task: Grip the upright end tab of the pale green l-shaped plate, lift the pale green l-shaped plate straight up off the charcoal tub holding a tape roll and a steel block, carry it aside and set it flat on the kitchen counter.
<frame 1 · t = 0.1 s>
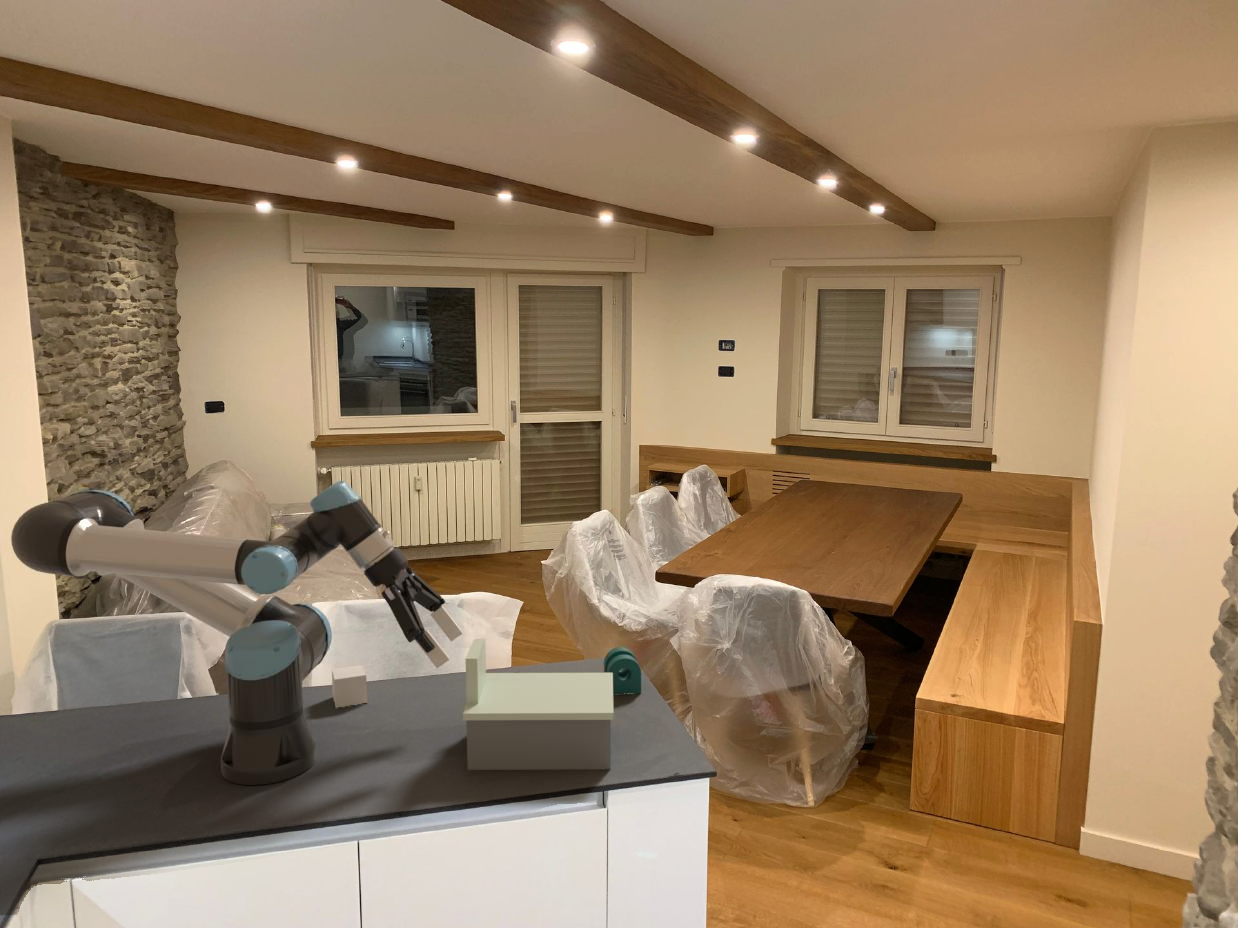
hand: (450, 649, 164), 15 cm above the kitchen counter, tool tilted 35°, fingers open, 13 cm apart
white cube: (350, 701, 180), on the kitchen counter
pale green l-shaped plate: (542, 698, 158), point 9 cm above the kitchen counter, touching tub
tub: (542, 746, 159), on the kitchen counter
steel block: (582, 746, 159), resting in tub
bracket: (595, 691, 185), on the kitchen counter
tape roll: (520, 749, 159), resting in tub
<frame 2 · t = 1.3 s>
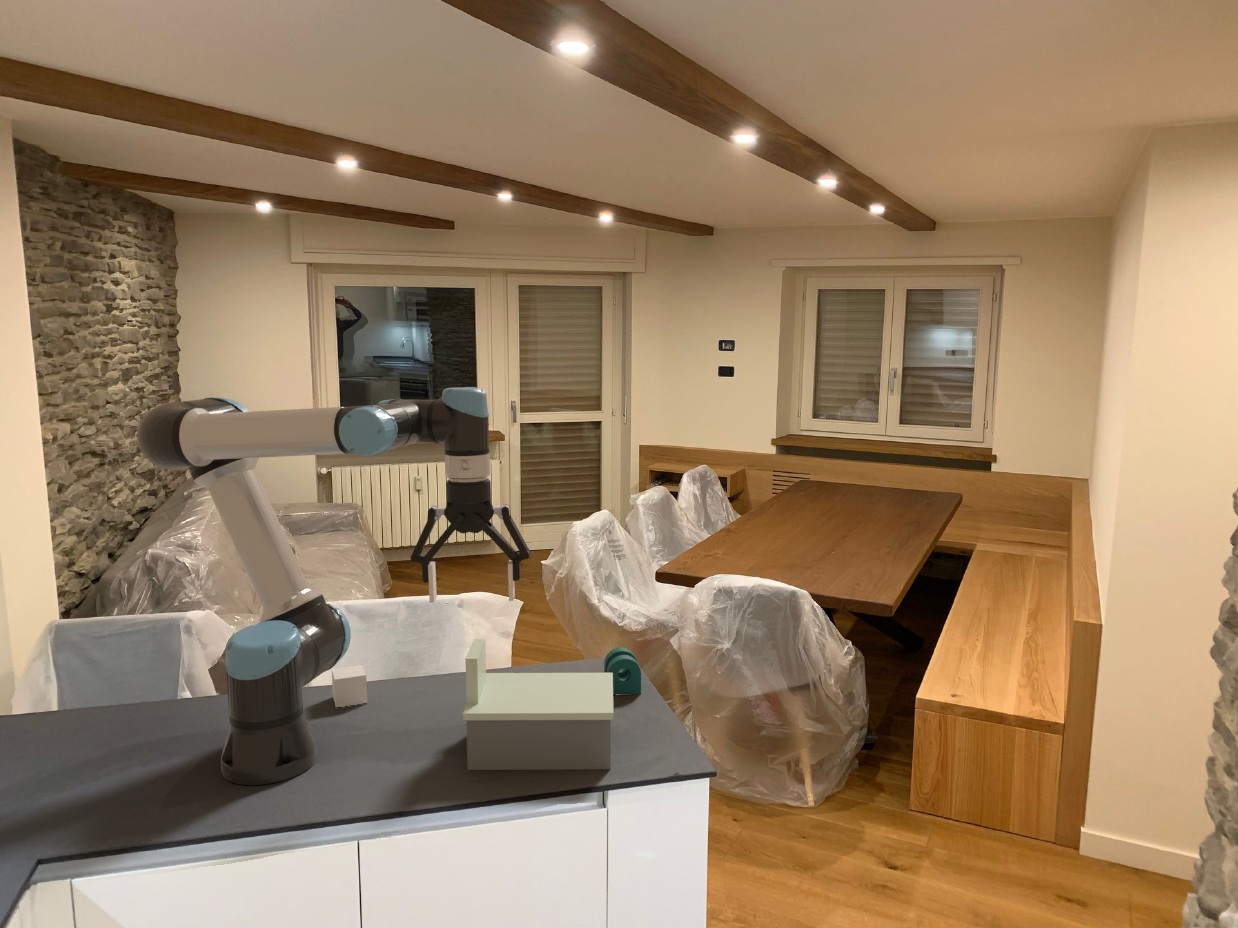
hand: (472, 599, 156), 27 cm above the kitchen counter, tool pointing down, fingers open, 13 cm apart
nothing on the kitchen counter moved.
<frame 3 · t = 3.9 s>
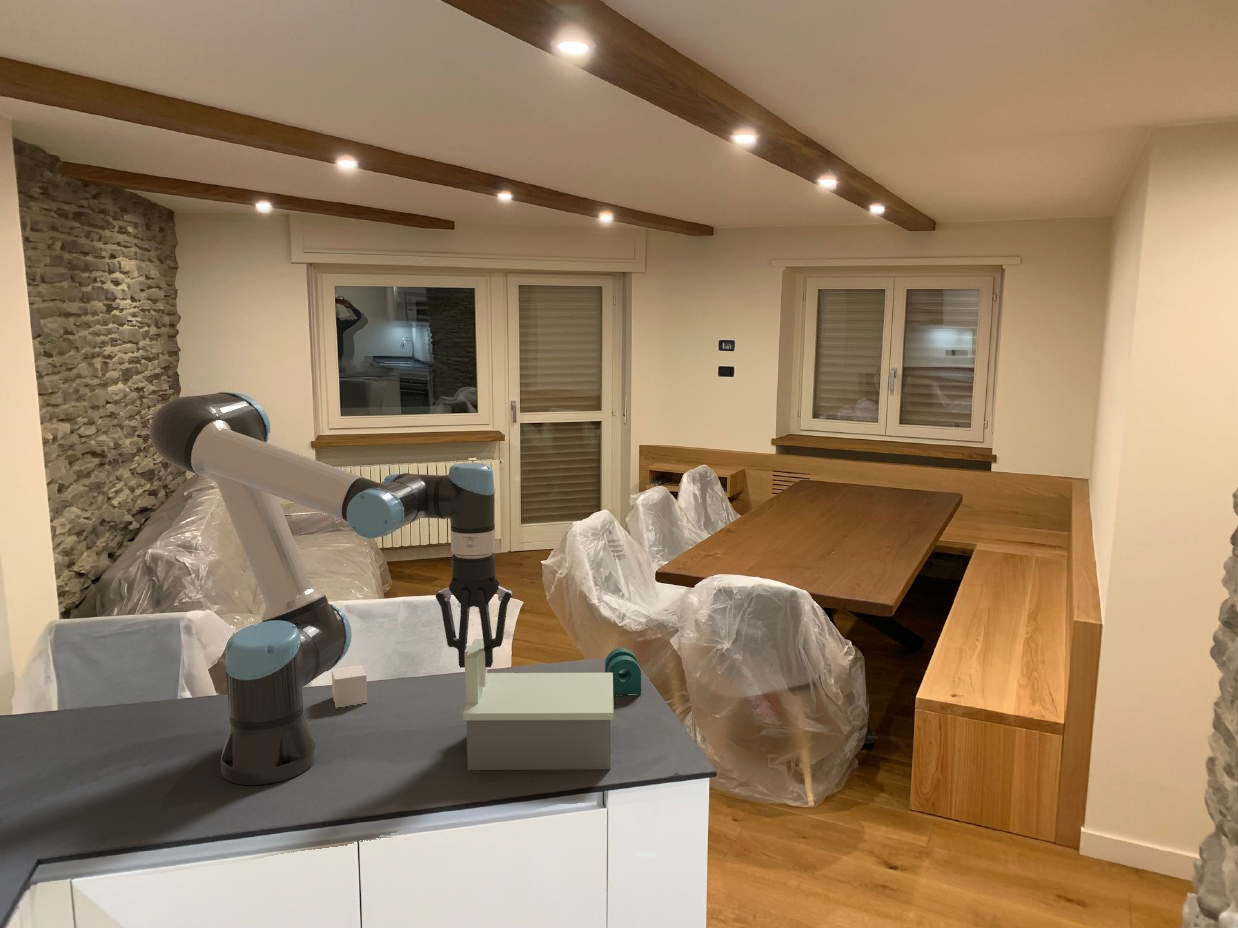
hand: (476, 684, 157), 12 cm above the kitchen counter, tool pointing down, fingers closed on pale green l-shaped plate, 2 cm apart
pale green l-shaped plate: (542, 698, 158), point 9 cm above the kitchen counter, touching gripper, tub
everything else where it was.
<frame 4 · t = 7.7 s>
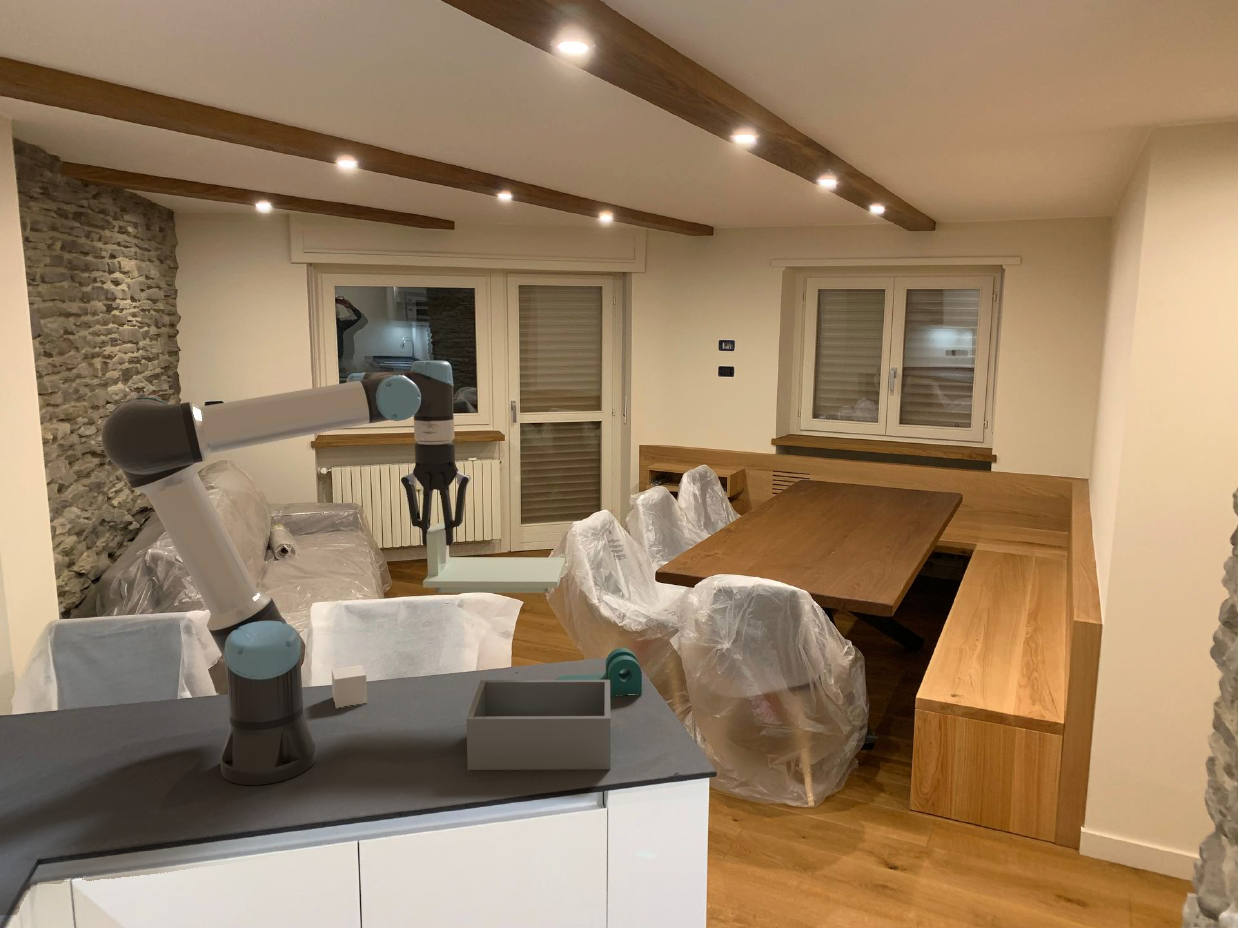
hand: (438, 561, 175), 29 cm above the kitchen counter, tool pointing down, fingers closed on pale green l-shaped plate, 2 cm apart
pale green l-shaped plate: (497, 574, 175), point 26 cm above the kitchen counter, touching gripper
everything else where it was.
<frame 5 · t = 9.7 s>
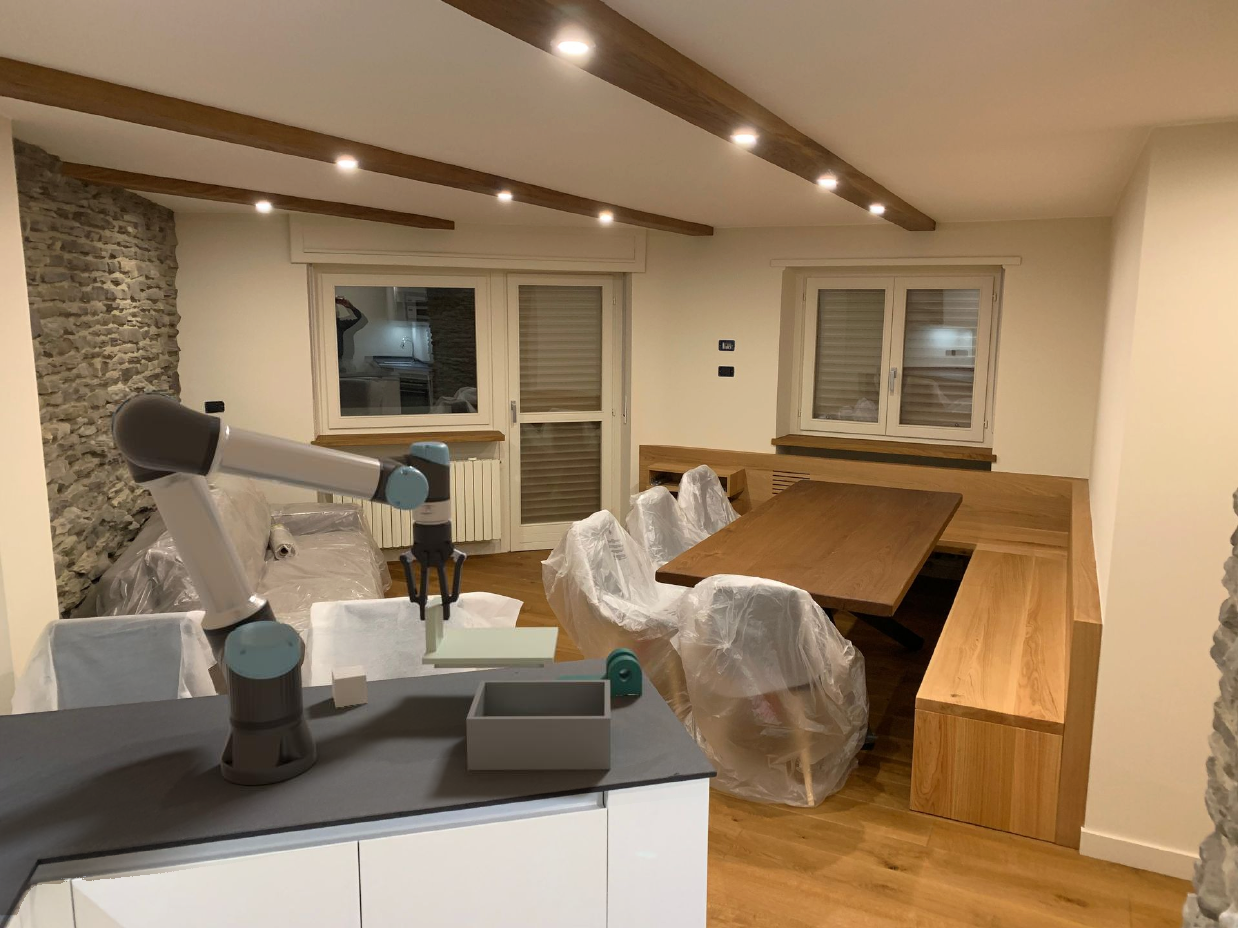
hand: (435, 635, 180), 13 cm above the kitchen counter, tool pointing down, fingers closed on pale green l-shaped plate, 2 cm apart
pale green l-shaped plate: (493, 647, 181), point 10 cm above the kitchen counter, touching gripper
everything else where it was.
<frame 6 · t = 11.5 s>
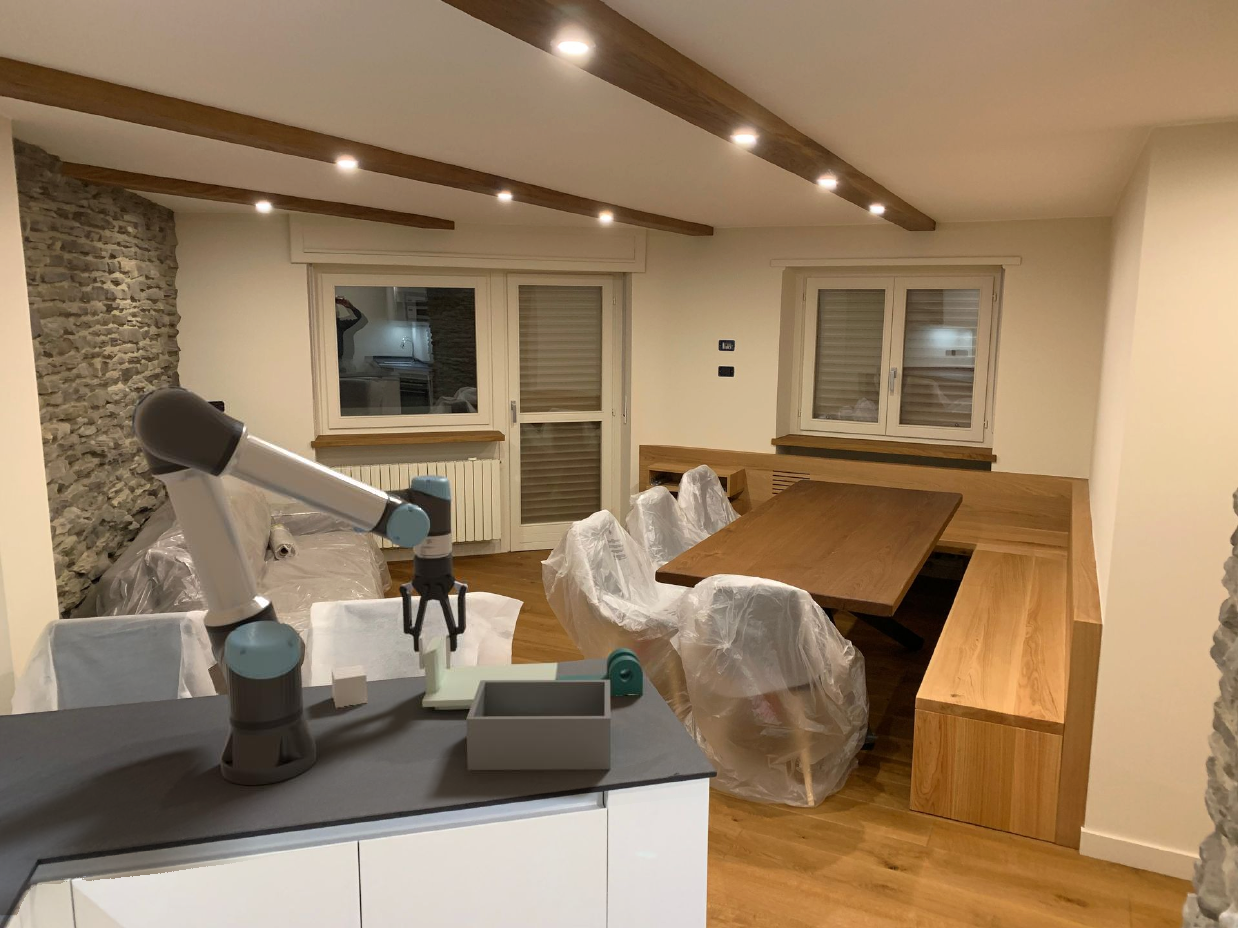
hand: (436, 666, 181), 6 cm above the kitchen counter, tool pointing down, fingers open, 5 cm apart
pale green l-shaped plate: (493, 686, 182), point 2 cm above the kitchen counter, touching bracket
bracket: (597, 692, 185), on the kitchen counter, touching pale green l-shaped plate
everything else where it was.
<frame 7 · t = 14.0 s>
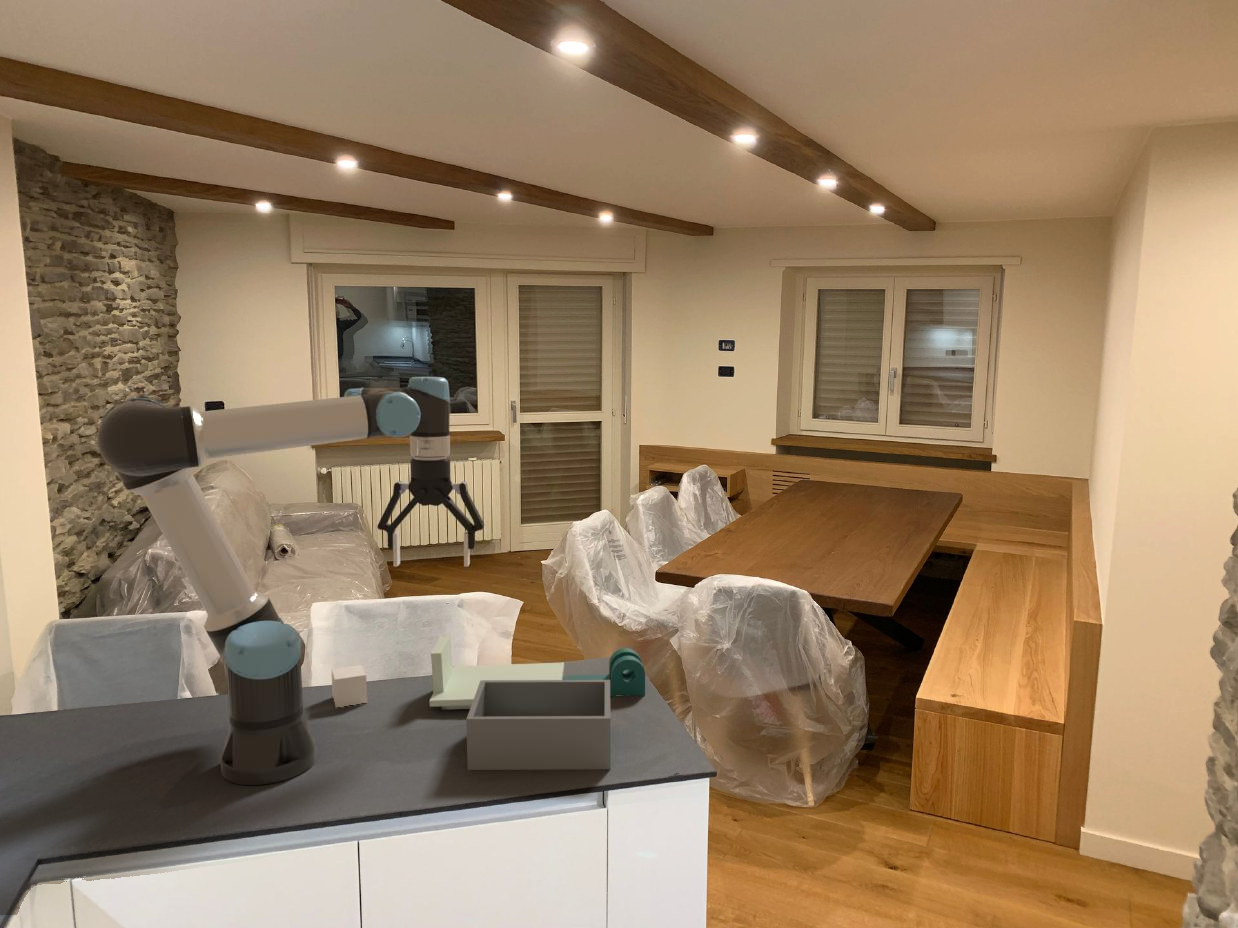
hand: (431, 565, 176), 28 cm above the kitchen counter, tool pointing down, fingers open, 13 cm apart
pale green l-shaped plate: (500, 686, 182), point 2 cm above the kitchen counter, touching bracket
everything else where it was.
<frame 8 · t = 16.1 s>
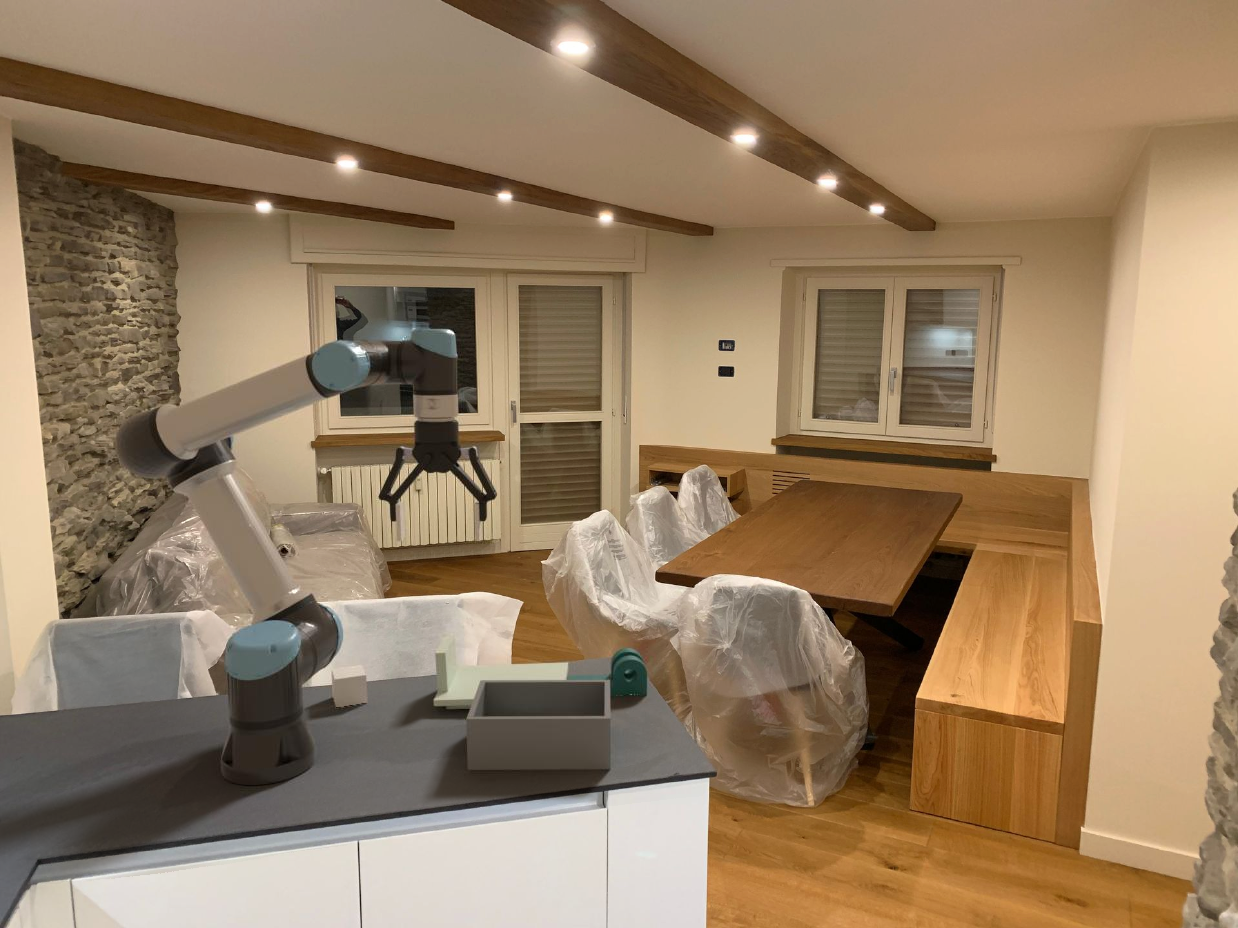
hand: (439, 539, 158), 37 cm above the kitchen counter, tool pointing down, fingers open, 13 cm apart
pale green l-shaped plate: (504, 685, 182), point 2 cm above the kitchen counter
bracket: (601, 692, 185), on the kitchen counter
everything else where it was.
at the end: pale green l-shaped plate inside the target area (0.4 cm from its centre), point 1.8 cm above the kitchen counter; pale green l-shaped plate touching kitchen counter, bracket; pale green l-shaped plate tilted 2° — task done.
